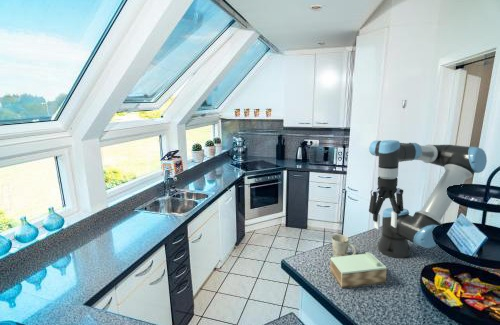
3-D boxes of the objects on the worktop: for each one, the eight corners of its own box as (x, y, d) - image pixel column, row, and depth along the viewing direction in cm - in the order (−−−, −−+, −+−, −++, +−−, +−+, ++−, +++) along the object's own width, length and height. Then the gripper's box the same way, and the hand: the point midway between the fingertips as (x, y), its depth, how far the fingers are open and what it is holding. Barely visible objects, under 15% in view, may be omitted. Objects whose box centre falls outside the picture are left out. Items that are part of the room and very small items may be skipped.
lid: (370, 254, 125) (371, 250, 124) (386, 269, 113) (386, 264, 113) (330, 259, 123) (330, 254, 122) (342, 274, 111) (342, 269, 111)
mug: (335, 250, 143) (335, 233, 141) (359, 257, 135) (359, 239, 133) (329, 256, 137) (329, 239, 135) (353, 264, 129) (354, 245, 127)
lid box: (370, 267, 126) (370, 255, 125) (385, 283, 114) (386, 269, 113) (330, 272, 124) (330, 259, 123) (341, 288, 112) (342, 274, 111)
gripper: (403, 173, 117) (400, 221, 121) (360, 176, 115) (359, 225, 119) (416, 177, 109) (412, 228, 114) (370, 180, 107) (368, 233, 112)
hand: (385, 227), depth 116 cm, fingers open, 7 cm apart
